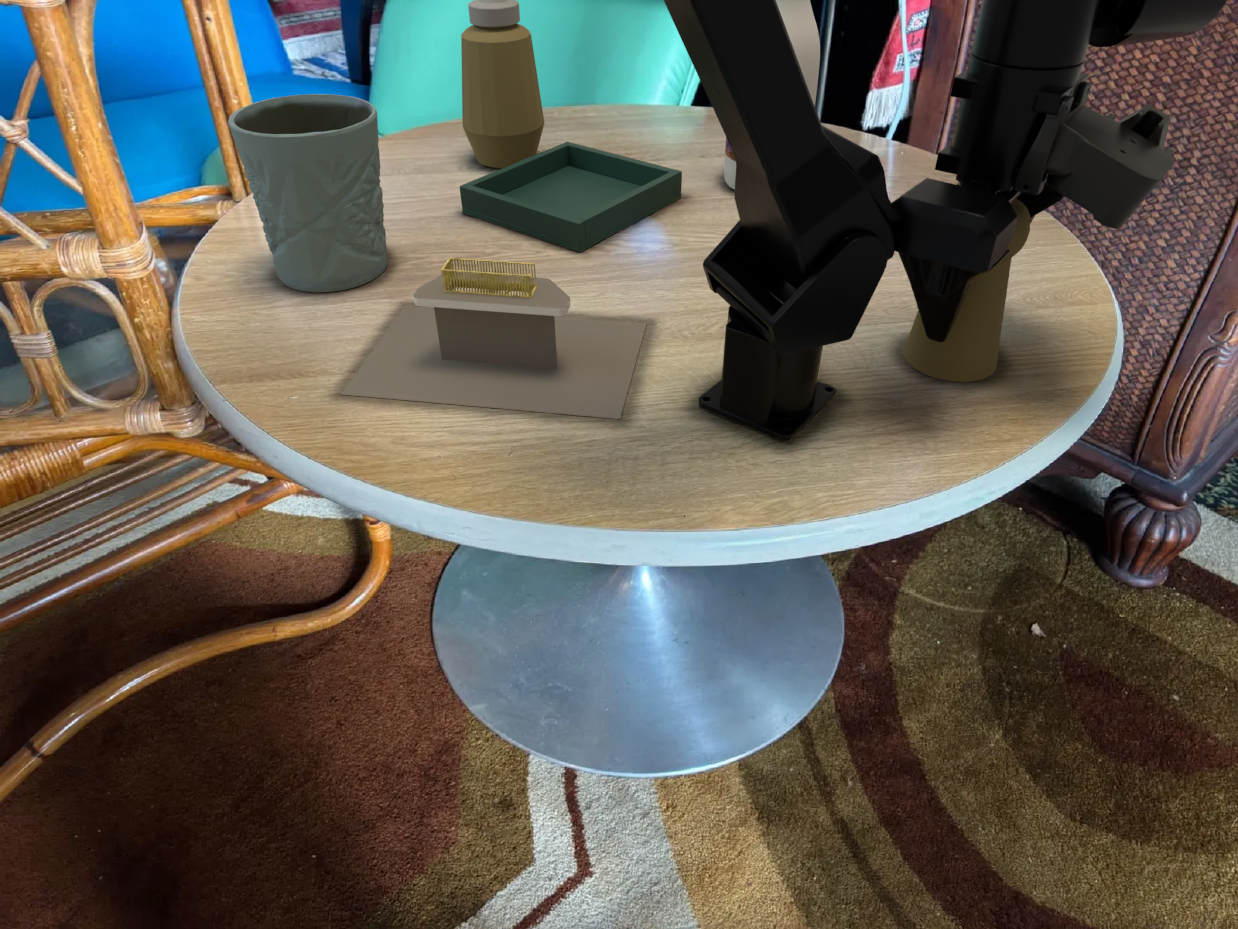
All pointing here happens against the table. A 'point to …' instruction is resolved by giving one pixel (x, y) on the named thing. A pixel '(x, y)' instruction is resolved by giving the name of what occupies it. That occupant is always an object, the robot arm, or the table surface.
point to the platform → (501, 348)
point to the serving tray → (571, 194)
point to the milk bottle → (807, 50)
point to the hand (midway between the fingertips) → (961, 313)
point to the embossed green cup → (316, 187)
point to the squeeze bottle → (499, 85)
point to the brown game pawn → (970, 323)
